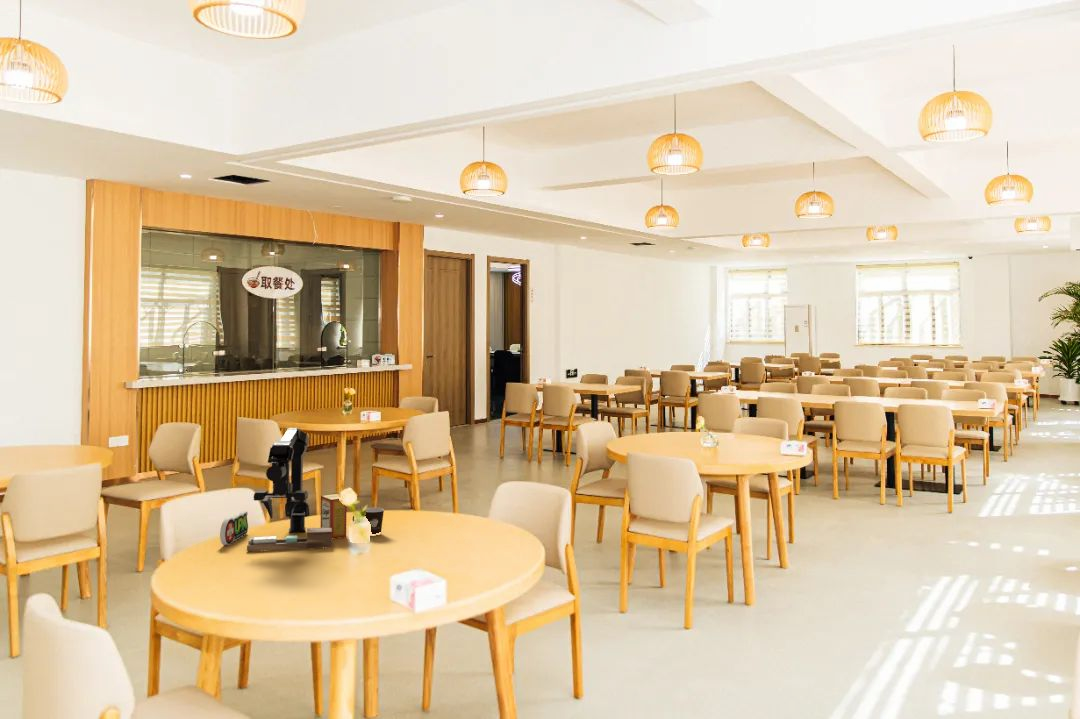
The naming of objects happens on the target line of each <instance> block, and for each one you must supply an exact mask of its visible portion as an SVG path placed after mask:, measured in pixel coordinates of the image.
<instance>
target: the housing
mask: <svg viewBox="0 0 1080 719" xmlns="http://www.w3.org/2000/svg"><path fill="white" fill-rule="evenodd" d="M332 540H333V539H332V528H331V527H326V528H321V527H310V528H309V527H308V528H307V527H306V537H298V542H292V543H286V538H280V539H279V538H277V541H276V543H273V544H254V545H250V540H248V544H247V545H246V552H247V551H259V552H265V551H264V550H277V551H293V550H292V549H296V550H310V548H314V549H326V548H325V547H332ZM323 547H324V548H323ZM290 549H291V550H290ZM261 550H263V551H261Z"/></svg>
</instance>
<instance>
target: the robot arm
mask: <svg viewBox="0 0 1080 719" xmlns="http://www.w3.org/2000/svg"><path fill="white" fill-rule="evenodd" d="M309 442H310V438H309V435H308V434H307V433H306V432H304V431H303V430H301V428H299V427H288V428H286V430H285V433H284V434H283V436H282V438H281V439H280V440H279V441H275V442H273V443H272V445H271V446H270V449H269V453H268V459H267V463H269V464H271V465H270V466H269V467H268V468H267V469H266V471H265V475H266V476H265V477H266V478H267V480H269V481H270V482H272V492H269V490H257V491H256V492H254V494H253V501H260V503H261V504H263V505H264V508H265V510H266V511H267V513H268V516H269V517H270V519H273V518H274V517H273V512H274V511H273V499H286V501H285V504H284V510H285V511H284V512H285V513H284V514H285V517H286V518H289V528H288V533H289V534H291V533H292V534H293V533H305V532H306V533H307V527H305V526H306V520H305V518H307V517H310V516H311V512H310V511H311V510H310V505H309V503H308V502H307V499H308V498H309V492H308V491H307V490H303V479H304V478H303V475H304V472H303V469H304V455H305V453H306V451H307V450H308V446H309ZM290 463H291V464H290ZM290 468H291V469H290ZM290 476H291V477H290Z"/></svg>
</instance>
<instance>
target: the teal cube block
mask: <svg viewBox="0 0 1080 719" xmlns="http://www.w3.org/2000/svg"><path fill="white" fill-rule="evenodd" d="M298 538H299V536H298V535H286V537H285V539H286V543H292V542H298Z"/></svg>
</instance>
